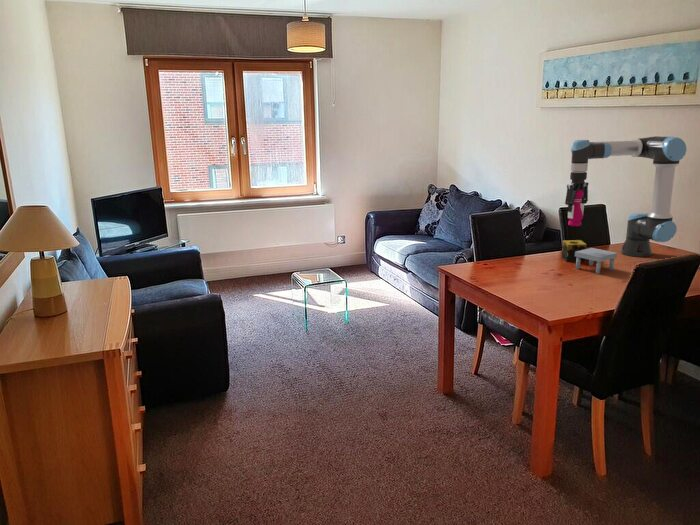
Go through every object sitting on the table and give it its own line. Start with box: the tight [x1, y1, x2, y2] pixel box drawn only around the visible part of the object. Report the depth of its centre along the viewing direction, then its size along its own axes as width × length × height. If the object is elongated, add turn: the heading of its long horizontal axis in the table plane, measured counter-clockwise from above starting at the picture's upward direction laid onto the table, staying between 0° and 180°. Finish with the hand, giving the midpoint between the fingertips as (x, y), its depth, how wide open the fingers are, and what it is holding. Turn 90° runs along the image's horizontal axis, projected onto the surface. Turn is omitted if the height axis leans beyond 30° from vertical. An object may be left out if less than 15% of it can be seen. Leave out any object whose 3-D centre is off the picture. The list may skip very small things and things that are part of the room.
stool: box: [575, 247, 618, 275], centre depth 263 cm, size 14×14×9 cm
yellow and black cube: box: [561, 239, 587, 263], centre depth 282 cm, size 10×10×10 cm
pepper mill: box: [567, 189, 584, 227], centre depth 261 cm, size 7×7×20 cm
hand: (575, 217), depth 263 cm, fingers closed on pepper mill, 7 cm apart
